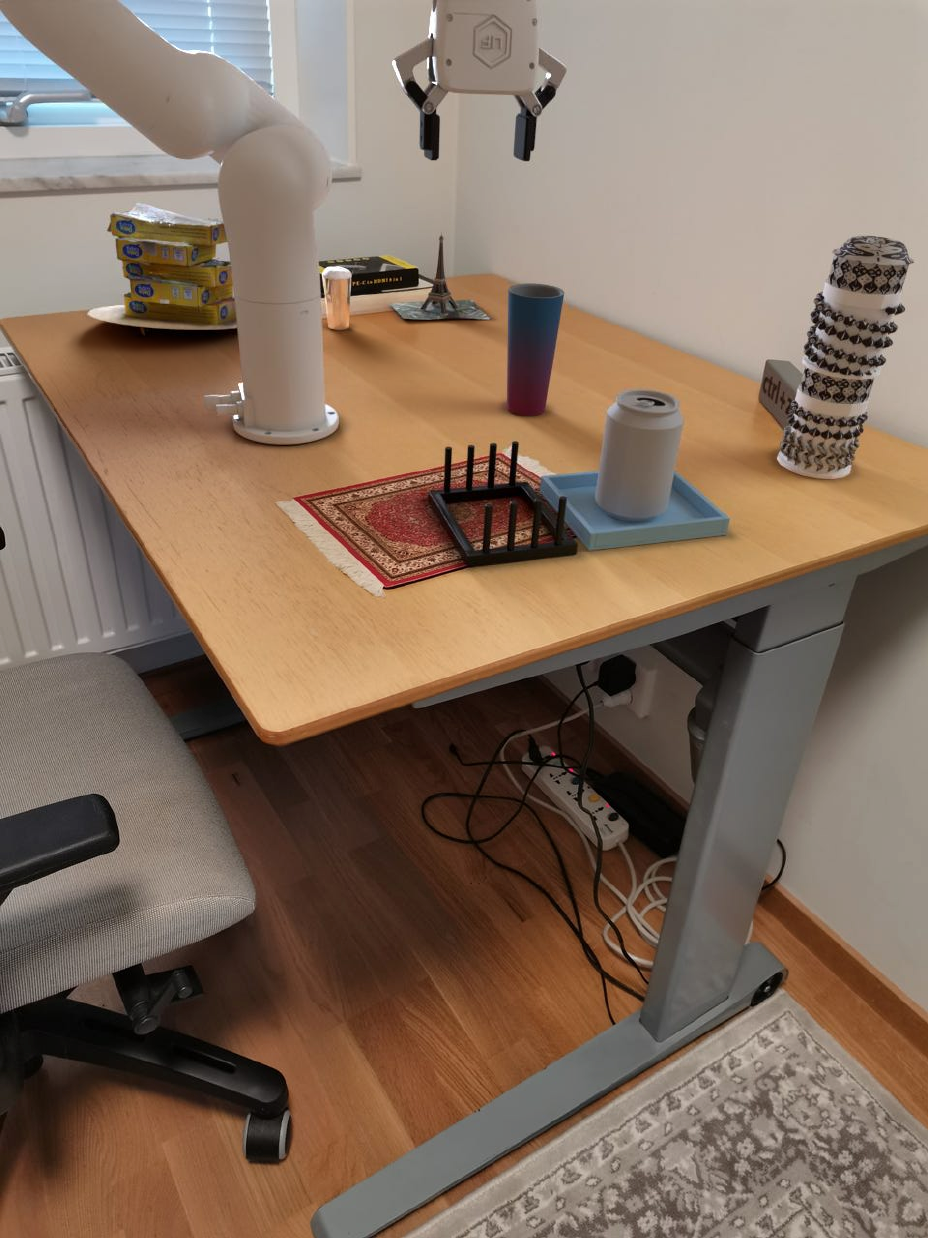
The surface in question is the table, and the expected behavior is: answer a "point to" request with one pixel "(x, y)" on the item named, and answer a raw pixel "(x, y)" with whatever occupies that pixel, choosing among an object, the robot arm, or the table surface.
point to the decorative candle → (844, 356)
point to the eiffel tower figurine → (439, 300)
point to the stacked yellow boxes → (171, 272)
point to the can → (639, 455)
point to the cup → (531, 345)
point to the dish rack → (542, 513)
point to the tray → (601, 531)
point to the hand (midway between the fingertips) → (476, 158)
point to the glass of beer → (337, 296)
